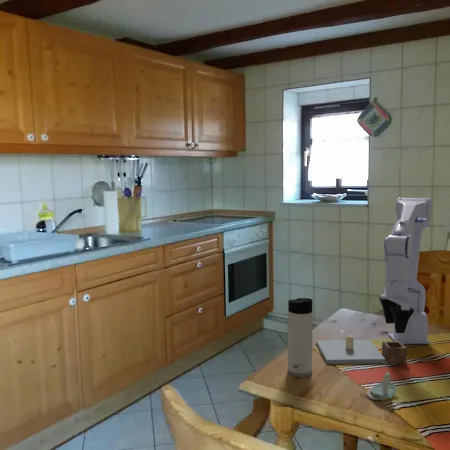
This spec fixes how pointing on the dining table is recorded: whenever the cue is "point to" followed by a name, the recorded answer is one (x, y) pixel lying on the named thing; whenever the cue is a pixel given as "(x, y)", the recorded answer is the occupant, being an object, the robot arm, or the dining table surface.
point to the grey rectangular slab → (349, 351)
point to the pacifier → (383, 389)
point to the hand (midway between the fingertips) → (394, 327)
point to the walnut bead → (394, 352)
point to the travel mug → (300, 337)
